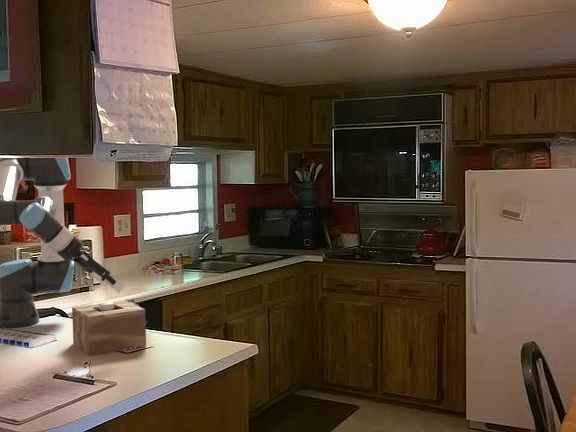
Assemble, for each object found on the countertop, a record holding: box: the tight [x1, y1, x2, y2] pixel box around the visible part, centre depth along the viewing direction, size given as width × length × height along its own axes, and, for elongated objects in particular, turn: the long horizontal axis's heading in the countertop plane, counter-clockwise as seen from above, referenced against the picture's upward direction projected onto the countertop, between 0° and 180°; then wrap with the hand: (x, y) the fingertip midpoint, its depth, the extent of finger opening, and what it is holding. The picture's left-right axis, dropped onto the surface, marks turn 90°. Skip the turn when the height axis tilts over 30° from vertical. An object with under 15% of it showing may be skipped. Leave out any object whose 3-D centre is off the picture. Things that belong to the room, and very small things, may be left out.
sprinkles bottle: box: [98, 301, 114, 312], centre depth 221 cm, size 5×5×14 cm
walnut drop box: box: [71, 300, 147, 357], centre depth 220 cm, size 18×18×12 cm
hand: (114, 286), depth 221 cm, fingers open, 13 cm apart
